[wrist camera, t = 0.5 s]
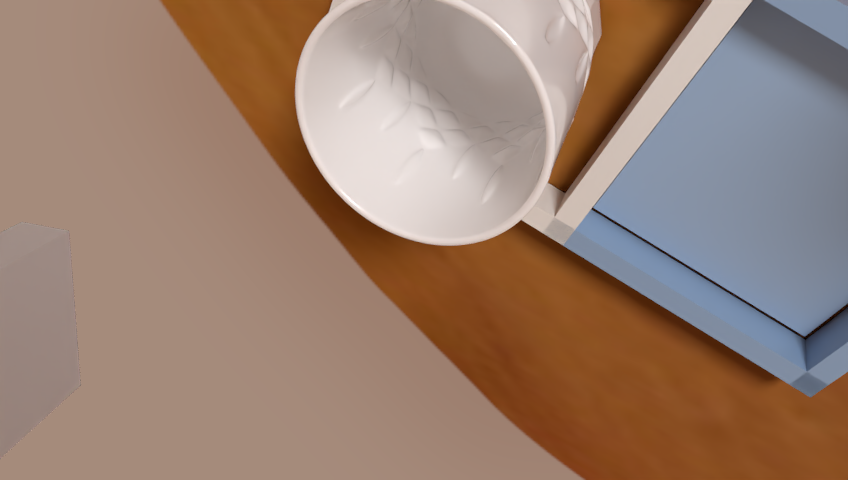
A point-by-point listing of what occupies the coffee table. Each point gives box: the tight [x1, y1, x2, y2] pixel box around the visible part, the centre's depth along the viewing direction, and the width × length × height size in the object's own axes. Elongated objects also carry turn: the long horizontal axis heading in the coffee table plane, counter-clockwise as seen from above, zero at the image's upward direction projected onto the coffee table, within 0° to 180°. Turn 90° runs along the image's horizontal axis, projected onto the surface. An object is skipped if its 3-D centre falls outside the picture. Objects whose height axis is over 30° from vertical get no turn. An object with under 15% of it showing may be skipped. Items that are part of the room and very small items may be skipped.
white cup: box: [295, 0, 602, 246], centre depth 24 cm, size 8×8×10 cm
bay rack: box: [329, 0, 848, 397], centre depth 26 cm, size 13×25×2 cm, turn 66°
